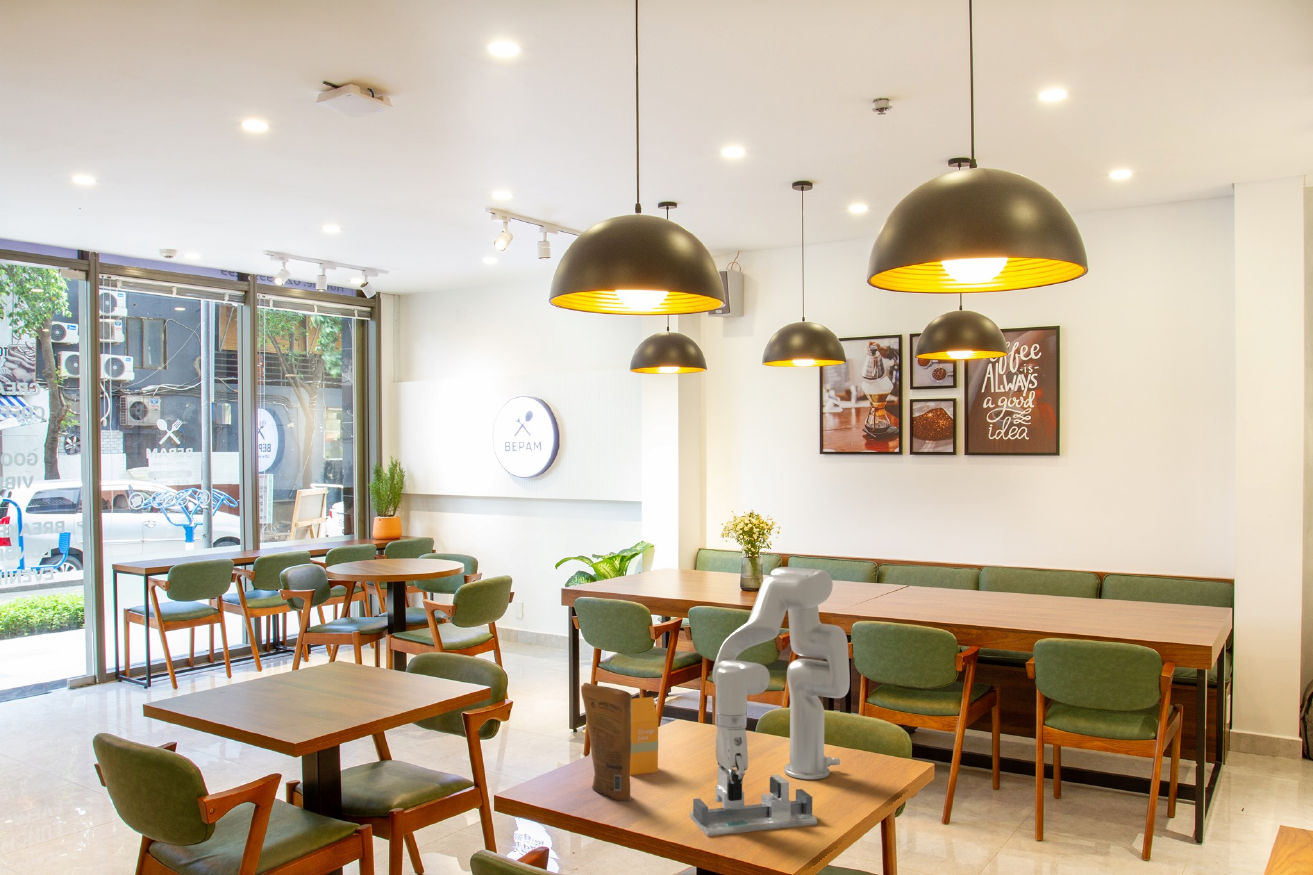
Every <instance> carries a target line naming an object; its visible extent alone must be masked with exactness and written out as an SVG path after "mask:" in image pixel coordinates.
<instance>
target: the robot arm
mask: <svg viewBox="0 0 1313 875" xmlns="http://www.w3.org/2000/svg"><path fill="white" fill-rule="evenodd" d="M833 587H834V586H833V579H832V577H831V575H830V573H829V572H828V571H826V570H824V569H817V568H802V567H792V566H791V567H790V566H782V567H781V566H780V567H775V568H773V569H772V570H771V572H770V574H769V576H767V577H765V578H764V579H763V580H762V582H761V584H760V587H759V589H758V593H757V595H756V598H755V601H754V602H753V605H752V609H751V612H750V614H749V617H748V619H747V621H746V623H744V624H743V625H741V626H740V627H739V628H737V629H736V630H734V631H733V632H732V633H731V634H730V635H729V636H728V637H726V639H724V641H723V642H722V644H721V646H720V648H719V650H718V652H717V656H716V658H715V661H714V663H713V668H712V673H711V674H712V681H713V684H714V685H715V708H714V709H715V710H714V713H715V715H714V718H715V721H714V722H715V723H714V725H715V727H716V737H715V760H716V761H717V765H718V767H724V768H726V769H727V770H728V771H729V774H730V783H729V800H730V801H737V800H741V799H742V791H743V782H744V781H743V780H744V776H745V774H746V772H745V771H747V770H748V768H749V755H748V738H747V730H746V728H747V717H748V716H747V712H748V711H747V709H748V708H747V704H748V701H747V699H748V696H752V695H753V696H754V695H755V696H756V695H759V694H762V693H763V692H765V691H766V690H767V689H768V687H769V685H770V681H771V674H770V672H769V669H768V668H767V666H765V665H763V664H761V663H758V662H751V661H744V660H738V659H737V657H738V656H739V655H740V654H741V653H742V652H744V651H745V650H747V649H749V648H752V647H754V646H757V645H759V644H763V643H765V642H769V641H772V640H773V639H775V638H777V637H778V636H779V634H780V631H781V628H782V625H783V622H784V619H785V617H786V612H787V615H788V627H789V628H788V629H789V630H788V632H789V640H790V642H789V643H790V648H791V650H792V652H793V653H794V654H795V655H798V656H801V657H807V658H797V659H795V660H792V661H791V662H790V663H789V665H788V667H787V670H786V680H787V686H788V692H789V705H790V706H789V708H790V709H789V713H790V714H789V718H790V719H789V763H788V764H786V765H785V766H784V767H783V768H784V769H783V770H784V771H783V772H784V773H785V774H786V775H788V776H789V777H792V778H795V779H800V780H821V779H825V778H827V777H829V776H830V767H831V766H839V765H840V764H841V760H840V758H839V757H833V758H832V757H831V756H825V708H824V705H823V703H822V701H821V699H820V698H819V697H824V698H825V697H826V698H832V699H842V698H844V697H845V696H847V694H848V693H849V690H850V685H851V684H850V681H851V679H850V677H851V676H850V661H849V659H850V658H849V645H848V644H849V643H848V638H847V634H846V632H845V630H844V629H843V628H842V627H840V626H839V625H835V624H829V623H822V622H821V621H820V614H819V613H820V612H819V605H821V604H823V603H824V602H826V601H827V600H828V599H829V597H830V596H831V595H832V590H833ZM811 658H812V659H811ZM813 658H814V659H813ZM736 659H737V660H736ZM817 659H822V660H817ZM825 660H826V661H825ZM733 768H736V769H733ZM733 773H736V774H735V776H734V777H733Z"/></svg>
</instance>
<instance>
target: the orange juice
mask: <svg viewBox="0 0 1313 875" xmlns="http://www.w3.org/2000/svg"><path fill="white" fill-rule="evenodd" d="M656 708H657V707H656V702H655V699H654V697H653V696H650V697H638V698H637V697H635V698H632V701H631V758H630V776H634V775H635V776H636V775H643V774H650V773H658V772H659V771H658V770H659V769H658V768H659V717H658V713H657V709H656Z"/></svg>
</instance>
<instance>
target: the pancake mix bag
mask: <svg viewBox="0 0 1313 875" xmlns="http://www.w3.org/2000/svg"><path fill="white" fill-rule="evenodd" d="M580 692H581V698H582V701H583V705H584V711H585V718H586V725H587V731H588V737H589V743H590V753H591V759H592V764H593V771H594V775H593V783H592V785H591V786H592V787H591V789H592V791H595V792H598V793H600V794H602V795H604V796H606V797H609V798H611V799H613V800H615V801H619V802H620V801H622V802H624V801H625V802H626V801H627V802H628V801H632V799H631V798H632V797H631V775H630V758H631V701H632V699H633V694H632V693H630V692H628V691H626V690H623V689H618V688H614V687H610V686H602V685H597V684H593V683H590V682H583V684H582V685H580Z"/></svg>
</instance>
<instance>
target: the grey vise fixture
mask: <svg viewBox="0 0 1313 875" xmlns="http://www.w3.org/2000/svg"><path fill="white" fill-rule="evenodd" d="M789 798H790V782H789V781H788V780H787V779H785V778H783V776H781V775H779V774H773V775H770V776H769V793H767V794H765V793H764V794H761V803H757V804H748V805H747V804H746V805H744V807H739V808H729V809H724V808H723V807H718V808H717V807H715V808H709V806H708V805H707V804H706V803H705V802H704V801H703V800H702V799H701V798H693V802H692V803H693V804H692V810H690V813H689V815H690V816H689V817H690V819H691V821H693V823H694V824H696V826H697V827H698V828H699V829H700V830H701V831H702V832H703V834H705V835H706V837H711V836H720V835H730V834H739V833H750V832H759V831H767V830H776V829H777V830H778V829H787V828H794V827H796V828H797V827H805V826H813V825H814V826H815V825H817V824H818V822H817V821H818V818H817V817H816V816H815V815H813V796H812V795H811V794H810V793H807V791H805V790H804V789H803V788H798V789H796V788H795V800H790V799H789Z"/></svg>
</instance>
